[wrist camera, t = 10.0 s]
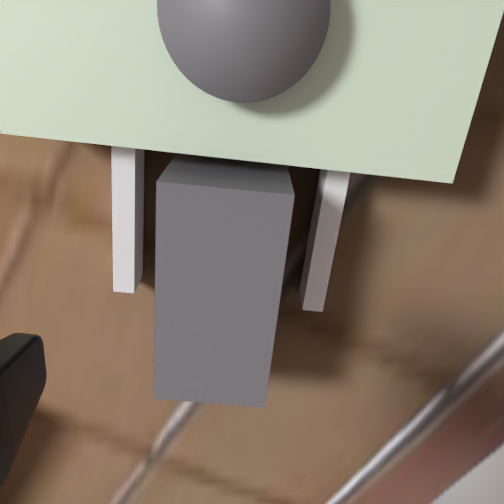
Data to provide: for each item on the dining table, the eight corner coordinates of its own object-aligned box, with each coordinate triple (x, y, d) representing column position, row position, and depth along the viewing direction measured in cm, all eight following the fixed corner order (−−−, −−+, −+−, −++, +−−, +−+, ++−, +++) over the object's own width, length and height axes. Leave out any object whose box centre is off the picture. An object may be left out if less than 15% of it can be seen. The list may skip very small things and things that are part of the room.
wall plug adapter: (479, -61, 14) (554, -95, 11) (384, 299, 20) (414, 358, 16) (24, -121, 14) (-57, -178, 10) (53, 266, 19) (5, 319, 16)
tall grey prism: (285, 159, 18) (294, 194, 13) (263, 335, 21) (265, 407, 17) (179, 148, 17) (156, 181, 13) (173, 327, 21) (153, 398, 17)
